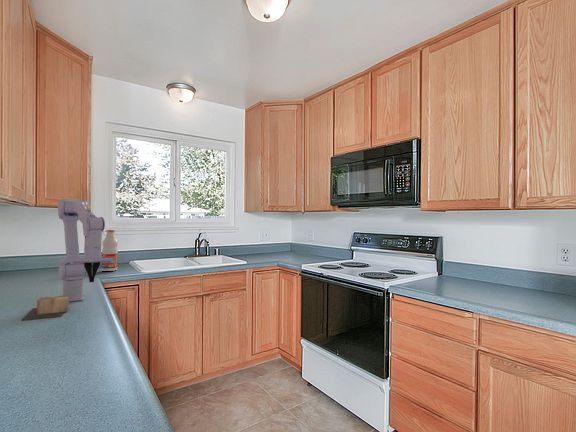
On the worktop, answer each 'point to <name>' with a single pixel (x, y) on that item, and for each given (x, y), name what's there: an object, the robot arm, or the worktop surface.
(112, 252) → the fruit juice
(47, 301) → the maple block
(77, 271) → the robot arm
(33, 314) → the rubber mat
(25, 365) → the worktop surface
